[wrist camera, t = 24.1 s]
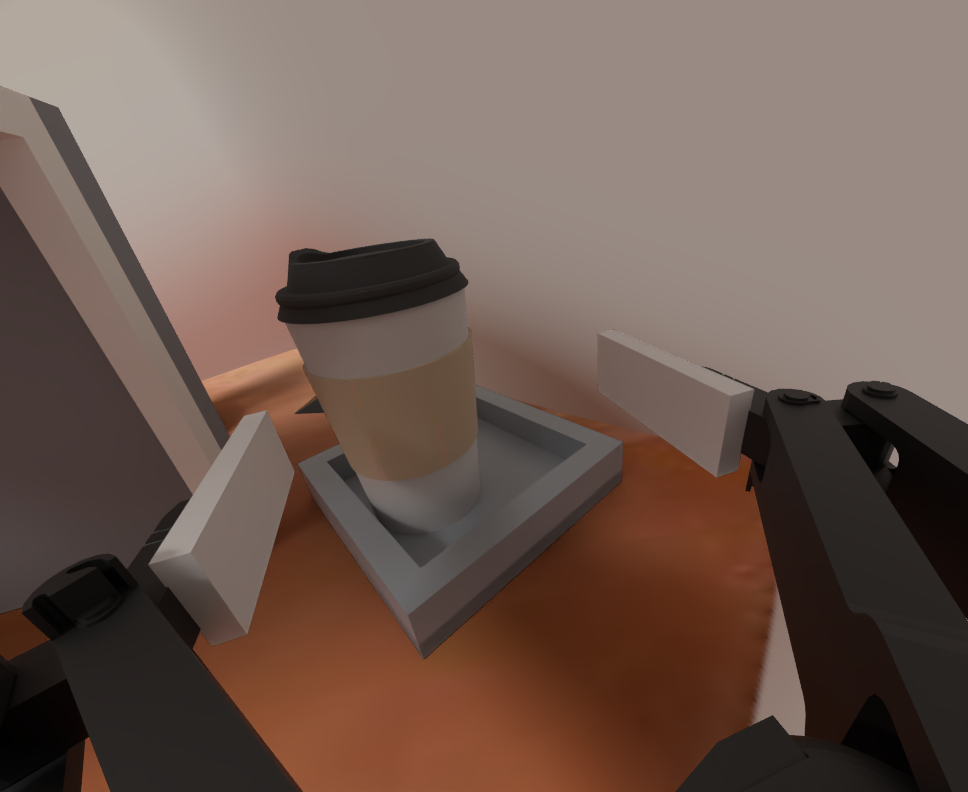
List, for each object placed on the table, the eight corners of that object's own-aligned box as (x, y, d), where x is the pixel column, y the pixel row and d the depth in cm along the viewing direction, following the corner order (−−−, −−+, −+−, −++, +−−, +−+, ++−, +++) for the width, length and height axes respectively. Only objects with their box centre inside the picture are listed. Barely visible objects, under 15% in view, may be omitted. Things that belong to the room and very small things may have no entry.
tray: (423, 659, 16) (407, 614, 15) (312, 497, 27) (297, 463, 25) (621, 480, 24) (623, 441, 23) (474, 411, 35) (469, 382, 33)
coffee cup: (501, 446, 27) (470, 221, 21) (494, 548, 19) (440, 234, 13) (383, 454, 29) (317, 244, 22) (330, 553, 21) (201, 269, 14)
